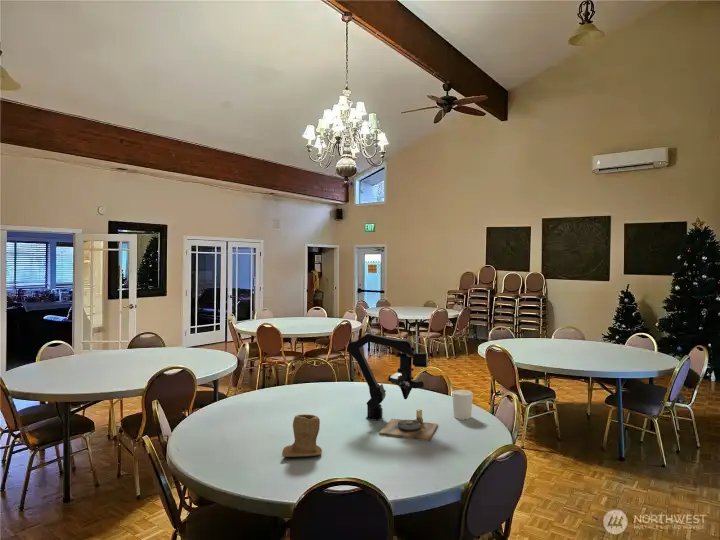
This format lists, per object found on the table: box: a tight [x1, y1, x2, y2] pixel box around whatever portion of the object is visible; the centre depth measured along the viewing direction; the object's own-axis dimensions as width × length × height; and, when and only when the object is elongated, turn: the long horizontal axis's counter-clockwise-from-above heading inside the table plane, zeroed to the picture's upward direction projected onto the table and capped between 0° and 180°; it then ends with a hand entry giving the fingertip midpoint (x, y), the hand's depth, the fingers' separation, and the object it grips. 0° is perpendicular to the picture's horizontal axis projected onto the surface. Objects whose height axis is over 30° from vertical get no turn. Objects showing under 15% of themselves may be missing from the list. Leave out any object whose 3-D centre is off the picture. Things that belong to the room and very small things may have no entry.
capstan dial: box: [398, 409, 424, 432], centre depth 208 cm, size 14×10×6 cm
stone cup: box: [281, 414, 323, 458], centre depth 180 cm, size 15×12×15 cm
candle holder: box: [451, 389, 474, 420], centre depth 225 cm, size 10×10×12 cm
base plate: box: [378, 418, 439, 442], centre depth 207 cm, size 22×20×1 cm
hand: (405, 399), depth 220 cm, fingers closed
